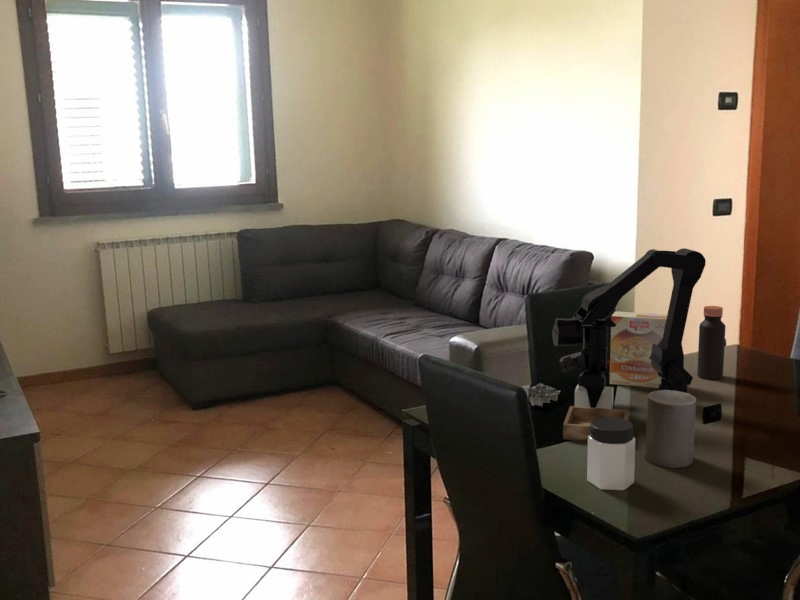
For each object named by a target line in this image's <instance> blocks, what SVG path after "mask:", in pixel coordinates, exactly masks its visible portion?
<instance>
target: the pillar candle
mask: <svg viewBox="0 0 800 600" xmlns="http://www.w3.org/2000/svg"><path fill="white" fill-rule="evenodd" d="M646 404H647V407H646V431H645V454H644V459H645V461H647V462H648V463H651V464H653V465H655V466H659V467H663V468H671V469H679V467H682V468H686V467H689V466H691V465H692V464H693V461H694V448H695V447H694V444H695V433H696V432H695V430H696V429H695V428H696V427H695V426H696V413H697V412H696V410H697V398H696V397H695V396H694V395H692V394H690V393H688V392H687V393H684V392H679V391H672V390H659V391H658V390H655V391H651V392H649V393H648V395H647V403H646ZM691 463H692V464H691ZM690 464H691V465H690ZM688 465H689V466H688ZM685 466H686V467H685Z"/></svg>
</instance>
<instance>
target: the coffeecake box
mask: <svg viewBox="0 0 800 600" xmlns="http://www.w3.org/2000/svg"><path fill="white" fill-rule="evenodd" d="M667 314H668V313H666V314H665V313H652V312H651V313H649V312H636V311H634V312H633V311H632V312H631V311H616V310H615V311H614V312H613V314H611V320H612V321H613V322H614V323H615V324H616V326H615V327H610V355H609V356H610V360H609V361H610V368H609V385H616V386H617V385H618V386H630V387H631V386H632V387H639V388H651V389H658V386H659V384H661V377H659V375H658V372H657V371H656V370H655V369H654V368H653V367H652V365H651V359H649V357H650V356H651V353H652V345H653V344H656V345H658V344H659V343H660V341H661V340H662V338H663V334H664V329H665V324H666V319H667Z"/></svg>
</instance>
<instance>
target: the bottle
mask: <svg viewBox="0 0 800 600" xmlns="http://www.w3.org/2000/svg"><path fill="white" fill-rule="evenodd" d="M723 309H724V308H723V307H722V306H717V305H705V306H704V307H703V317H704V319H703V320H702V322H700V323H699V326H698V327H699V328H698V329H699V331H698V347H697V348H698V351H697V352H698V354H697V373H696V375H697V376H698V377H699V378H701V379H704V380H710V381H711V380H712V381H713V380H721V379H723V377H724V366H725V365H724V363H725V362H724V361H725V346H726V345H725V342H726V325H725V323H724V322H723V321H722V318H723V313H724V310H723Z"/></svg>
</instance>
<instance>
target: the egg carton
mask: <svg viewBox="0 0 800 600" xmlns="http://www.w3.org/2000/svg"><path fill="white" fill-rule="evenodd" d="M525 389H526V391H527V393H528V396H529V395H530V396H529V397H530V398H529V401H530V403H531V405H532V406H534V405H538V406H542V407H543V406H544V405H543V403H550V404H551V402H550V400H553V401H557V400H558V396H559V395H560V392H561V390H560V389H559V390H557V389H556V387H552V386H550V385H545V384H544V383H541V382H539V383H538V384H536V385H534V386H529V387H528V388H525ZM537 393H538V394H537ZM533 396H535V397H533ZM558 401H559V400H558ZM558 401H557V402H558Z"/></svg>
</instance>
